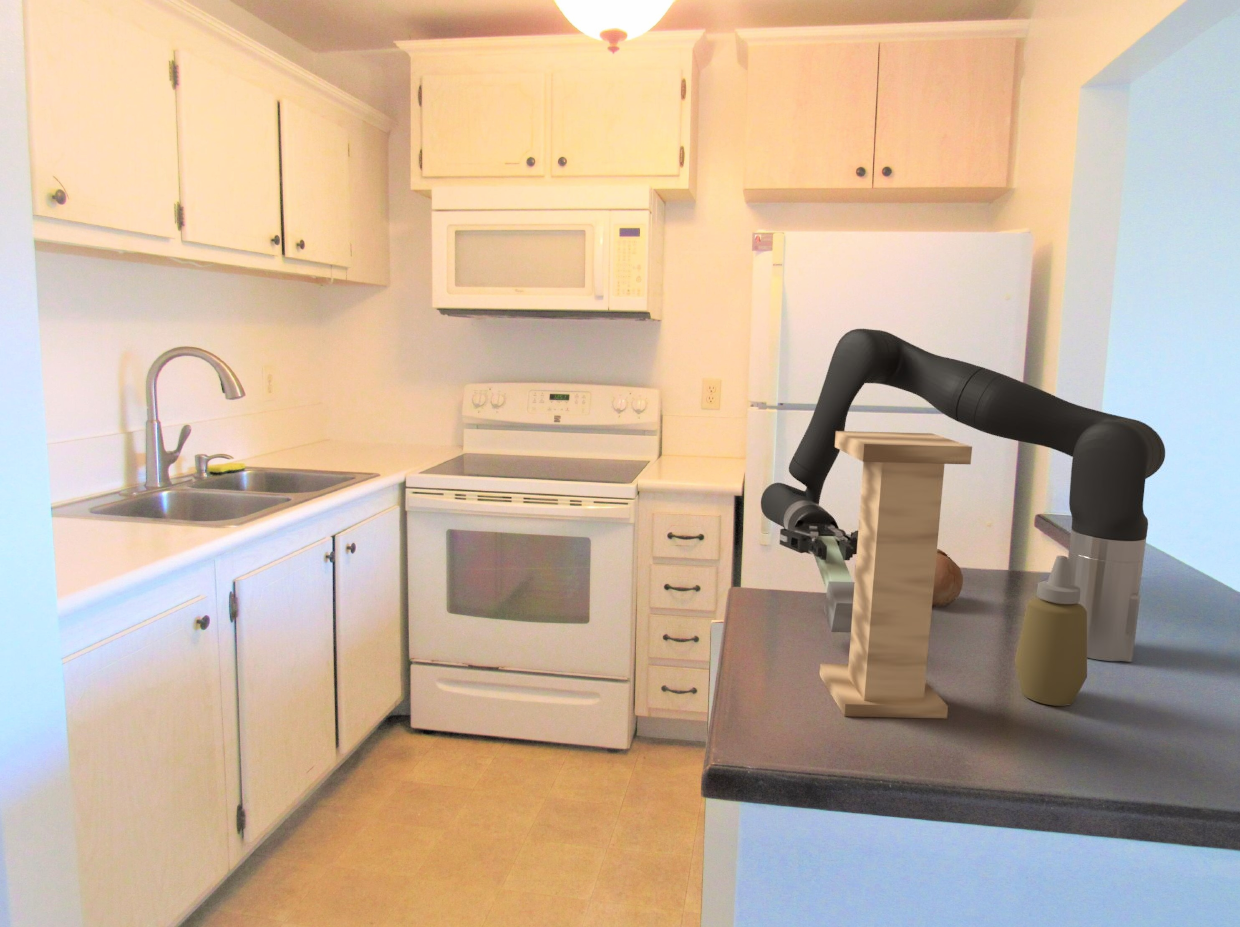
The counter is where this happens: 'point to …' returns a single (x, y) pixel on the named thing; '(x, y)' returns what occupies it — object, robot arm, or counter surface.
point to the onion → (946, 580)
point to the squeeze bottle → (1053, 641)
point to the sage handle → (836, 587)
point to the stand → (894, 574)
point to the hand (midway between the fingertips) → (836, 553)
